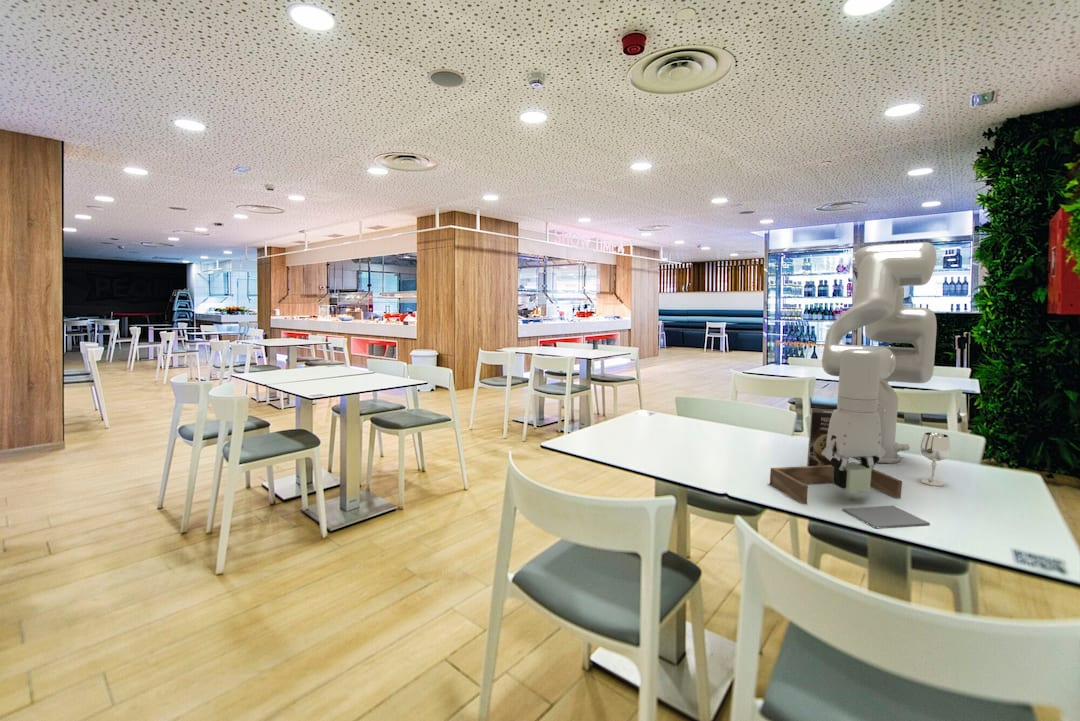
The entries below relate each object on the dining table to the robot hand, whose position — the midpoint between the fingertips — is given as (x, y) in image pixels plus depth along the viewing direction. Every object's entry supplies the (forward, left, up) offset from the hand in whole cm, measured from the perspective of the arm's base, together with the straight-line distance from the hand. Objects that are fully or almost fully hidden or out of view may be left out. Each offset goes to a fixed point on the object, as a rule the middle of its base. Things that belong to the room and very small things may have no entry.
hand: (851, 484), depth 115 cm
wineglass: (-28, -7, -4) cm, 29 cm away
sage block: (0, 0, -1) cm, 1 cm away
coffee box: (-8, -18, -4) cm, 20 cm away
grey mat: (0, +10, -4) cm, 10 cm away
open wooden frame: (0, -5, -4) cm, 6 cm away
